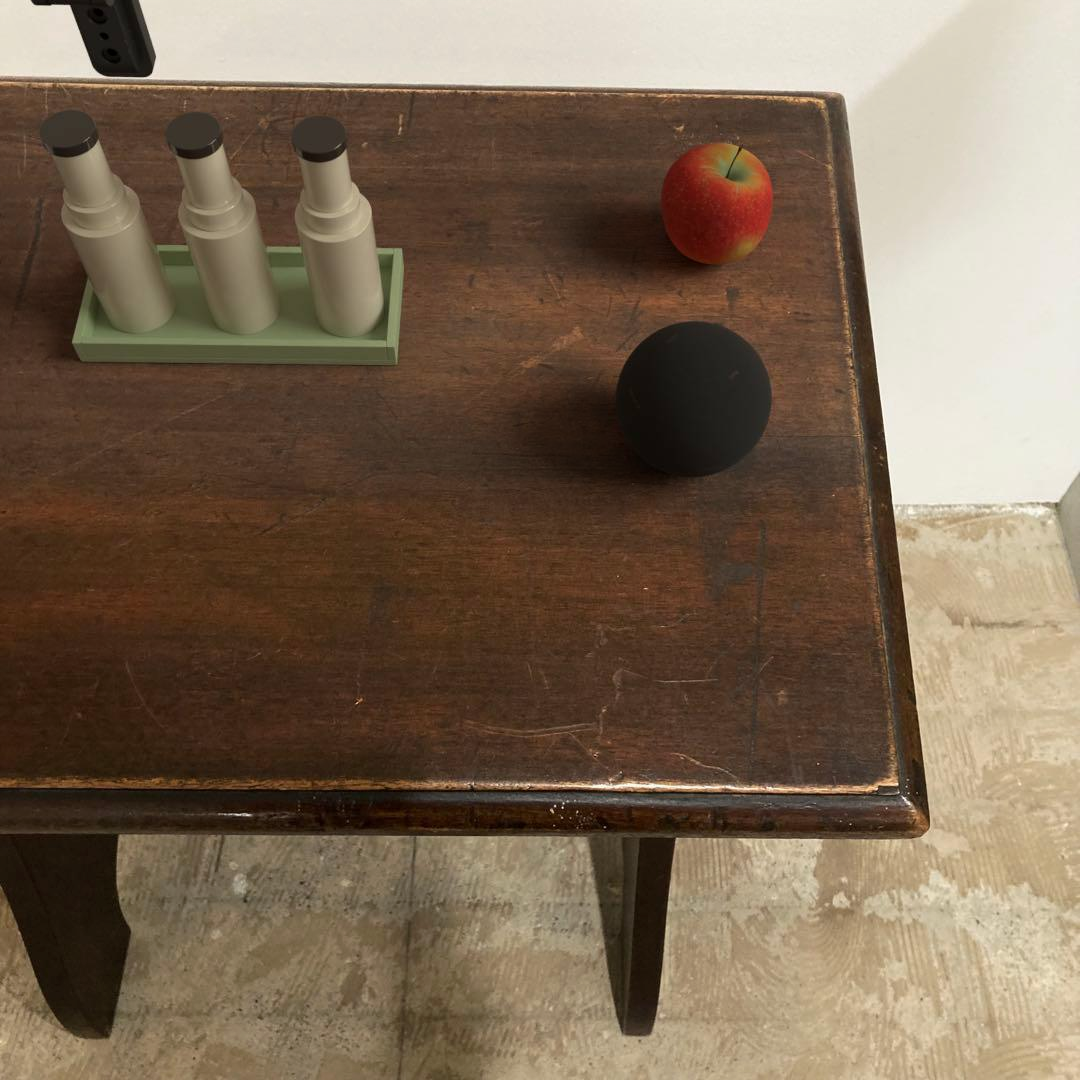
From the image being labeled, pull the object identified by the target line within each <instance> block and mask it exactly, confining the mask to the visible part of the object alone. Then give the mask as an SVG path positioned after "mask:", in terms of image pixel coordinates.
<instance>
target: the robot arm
mask: <svg viewBox="0 0 1080 1080" xmlns="http://www.w3.org/2000/svg"><path fill="white" fill-rule="evenodd" d="M30 2H31V3H32V5H34V6H37V7H40V6H42V7H43V6H44V7H45V6H47V7H51V6H69V7H70V10H71V12H72V16H73V18H74V21H75V23H76V26H77V29H78V31H79V34H80V36H81V40H82V42H83V44H84V48H85V50H86V53H87V56H88V58H89V61H90V63H91V66H92V68H93V69H94V71H95V72H96V73H98V74H99V75H100V76H103V77H107V78H148V77H150V76H151V75H152V74H153V72H154V68H155V63H156V59H157V54H156V51H155V48H154V45H153V42H152V38H151V35H150V31H149V29H148V24H147V21H146V19H145V15H144V13H143V9H142V6H141V3H140V0H30Z"/></svg>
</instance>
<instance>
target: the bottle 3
mask: <svg viewBox="0 0 1080 1080" xmlns="http://www.w3.org/2000/svg"><path fill="white" fill-rule="evenodd" d="M290 139H291V143H292V149H293V151H294V152H295V154H296V156H297V160H298V164H299V170H300V175H301V180H302V185H303V188H302V189H301V192H300V195H299V202H298V204H297V206H296V208H295V211H294V216H293V217H294V223H295V229H296V233H297V237H298V241H299V247H301V251H302V255H303V260H304V264H305V269H306V273H307V278H308V283H309V287H310V292H311V296H312V301H313V305H314V310H315V314H316V318H317V321H318V323H319V324H320V325H321V327H322V328H323V329H325V330H326V331H327V332H329V333H331V334H333V335H336V336H340V337H357V336H361V335H364V334H366V333H369V332H370V331H372V330H373V329H375V328H376V327H377V326H378V325H379V324H380V322H381V321H382V319H383V317H384V314H385V303H384V296H383V288H382V281H381V274H380V267H379V260H378V253H377V248H378V246H377V240H376V233H375V232H376V231H375V225H374V218H373V211H372V207H371V204H370V202H369V200H368V199H367V198H366V197H365V196H364V194H362V193H360V190H359V187H358V186H357V185H356V183H354V181H352V175H351V169H350V164H349V163H350V162H349V157H348V150H347V148H348V144H349V142H348V141H349V140H348V135H347V129H346V126H344V124H343V122H341V121H340V120H338V119H337V118H335V117H333V116H329V115H325V114H323V115H321V114H319V115H312V116H308V117H306V118H303V119H301V120H300V121H299V122H297V123H296V124H295V125H294V126H293V128H292V131H291V134H290Z"/></svg>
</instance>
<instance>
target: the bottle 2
mask: <svg viewBox="0 0 1080 1080" xmlns="http://www.w3.org/2000/svg"><path fill="white" fill-rule="evenodd" d="M164 135H165V139H166V143H167V146H168V148H169V150H170V151H171V152H172V154H173V156H174V158H175V159H174V160H175V162H176V165H177V169H178V171H179V174H180V177H181V178H180V179H181V180H182V184H183V189H182V191H181V202H180V205H179V206H178V210H177V220H178V223H179V225H180V228H181V229H180V230H181V232H182V234H183V237H184V240H185V243H186V245H187V246H188V249H189V252H190V255H191V258H192V261H193V264H194V267H195V270H196V273H197V276H198V278H199V281H200V284H201V287H202V290H203V293H204V296H205V299H206V302H207V305H208V308H209V311H210V314H211V317H212V319H213V321H214V322H215V324H216V325H217V326H218V327H219V328H221V329H222V330H224V331H226V332H228V333H232V334H237V335H247V334H253V333H257V332H259V331H262V330H264V329H265V328H267V327H268V326H270V325H271V324H272V323H273V322H274V321H275V320H276V318H277V317H278V315H279V312H280V308H281V302H280V298H279V294H278V290H277V286H276V282H275V278H274V274H273V270H272V267H271V263H270V259H269V255H268V251H267V247H266V246H267V244H266V240H265V235H264V232H263V228H262V225H261V224H262V223H261V221H260V216H259V212H258V208H257V205H256V202H255V198H254V197H253V196H252V195H251V193H250V192H248V190H246V189H245V188H243V187H242V185H241V183H240V182H239V181H238V180H237V179H236V178H235V177H234V176H233V175H232V172H231V169H230V165H229V161H228V157H227V153H226V149H225V146H224V133H223V129H222V126H221V123H220V121H219V120H218V119H217V118H216V117H215V116H213V115H212V114H211V113H207V112H204V111H189V112H185V113H182V114H179V115H177V116H175V117H174V118H173V119H171V121H169V123H168V124H167V126H166V127H165V132H164Z"/></svg>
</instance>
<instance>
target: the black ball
mask: <svg viewBox="0 0 1080 1080" xmlns="http://www.w3.org/2000/svg"><path fill="white" fill-rule="evenodd" d="M772 393H773V392H772V385H771V380H770V375H769V373H768V370H767V368H766V365H765V363H764V361H763V359H762V358H761V356H760V354H759V353H758V352H757V350H756V349H755V348H754V347H753V346H752V345H751V344H750V342H749V341H747V340H746V339H745V338H744V337H743V336H741V335H740V334H738V333H737V332H735V331H734V330H732V329H729V328H728V327H725V326H723V325H720V324H717V323H714V322H708V321H700V320H699V321H698V320H690V321H689V320H687V321H681V322H677V323H673V324H669V325H667V326H665V327H662V328H660V329H658V330H656V331H654V332H653V333H651V334H650V335H648V336H647V337H645V338H644V339H643V340H642V341H641V342H640V343H639V344H638V345H637V346H636V347H635V348H634V349H633V351H632V352H631V353H630V354H629V356H628V357H627V358H626V361H625V362H624V365H623V367H622V369H621V371H620V373H619V377H618V380H617V384H616V390H615V411H616V417H617V421H618V424H619V427H620V430H621V432H622V435H623V436H624V438H625V440H626V442H627V443H628V445H629V446H630V447H631V449H632V450H633V451H634V452H635V454H637V455H638V456H639V457H640V458H641V459H642V460H643V461H645V463H647V464H649V465H650V466H651V467H653V468H655V469H657V470H659V471H661V472H664V473H667V474H669V475H673V476H677V477H683V478H701V477H708V476H713V475H715V474H719V473H721V472H724V471H727V470H728V469H730V468H731V467H734V466H735V465H737V464H738V463H740V462H741V461H742V460H744V459H745V458H746V457H747V456H748V455H749V454H750V453H751V452H752V451H753V450H754V449H755V447H756V446H757V444H758V443H759V442H760V440H761V438H762V437H763V435H764V432H765V431H766V428H767V426H768V423H769V420H770V416H771V411H772V402H773V397H772V396H773V395H772Z"/></svg>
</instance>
